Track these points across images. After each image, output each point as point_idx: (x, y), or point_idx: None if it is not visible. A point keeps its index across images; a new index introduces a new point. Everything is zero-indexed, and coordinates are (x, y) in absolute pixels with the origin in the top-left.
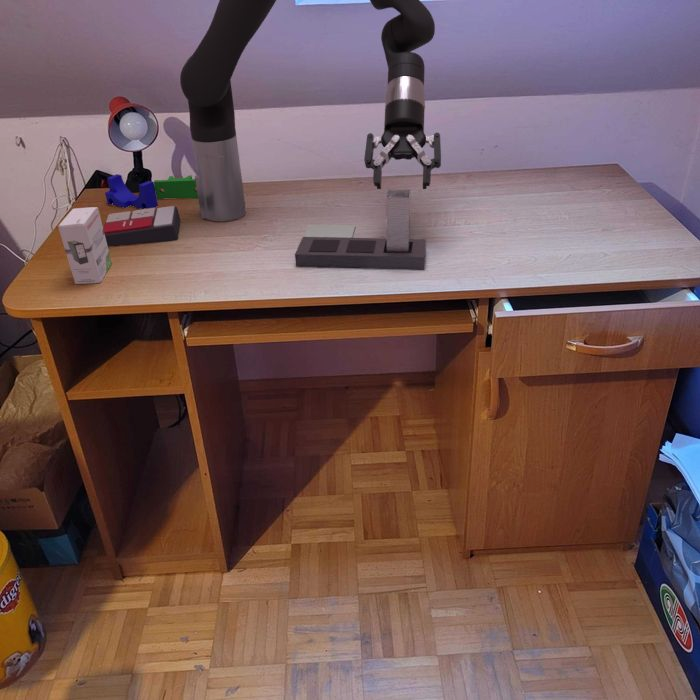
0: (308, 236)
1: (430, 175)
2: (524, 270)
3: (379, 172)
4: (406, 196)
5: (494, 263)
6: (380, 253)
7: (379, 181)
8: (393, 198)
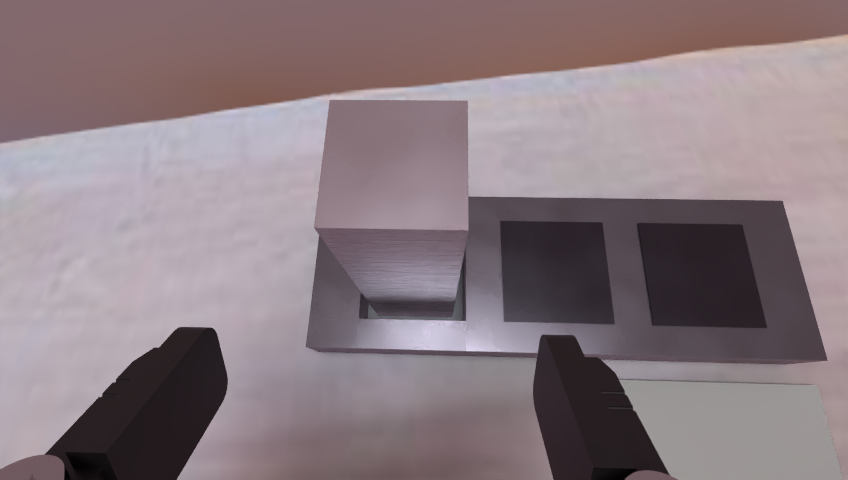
0: (817, 473)
1: (103, 395)
2: (36, 219)
3: (583, 409)
4: (344, 117)
5: (108, 262)
6: (475, 215)
7: (554, 344)
8: (423, 104)
